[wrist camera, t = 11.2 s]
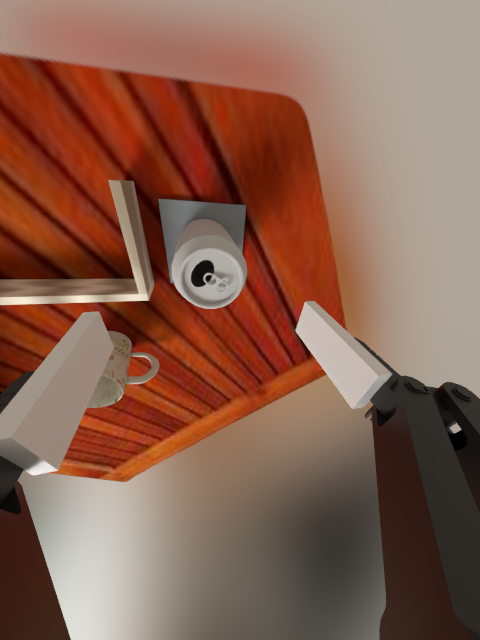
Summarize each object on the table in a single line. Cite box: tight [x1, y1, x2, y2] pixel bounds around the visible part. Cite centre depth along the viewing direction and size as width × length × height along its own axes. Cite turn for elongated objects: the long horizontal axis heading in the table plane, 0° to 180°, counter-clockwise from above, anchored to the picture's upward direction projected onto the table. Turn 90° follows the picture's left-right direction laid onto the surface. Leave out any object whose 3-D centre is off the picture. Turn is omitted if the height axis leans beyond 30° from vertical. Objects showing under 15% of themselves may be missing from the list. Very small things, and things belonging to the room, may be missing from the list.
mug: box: [87, 331, 159, 408], centre depth 31 cm, size 8×13×10 cm, turn 73°
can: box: [172, 219, 247, 309], centre depth 22 cm, size 8×8×12 cm
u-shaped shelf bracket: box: [0, 180, 155, 305], centre depth 21 cm, size 22×13×5 cm, turn 85°
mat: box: [158, 199, 246, 283], centre depth 27 cm, size 11×11×1 cm
